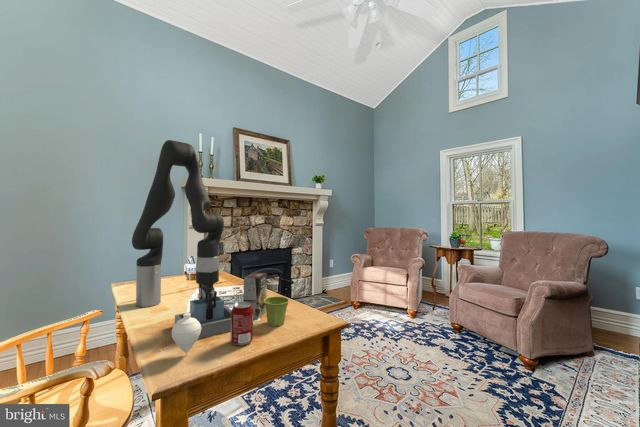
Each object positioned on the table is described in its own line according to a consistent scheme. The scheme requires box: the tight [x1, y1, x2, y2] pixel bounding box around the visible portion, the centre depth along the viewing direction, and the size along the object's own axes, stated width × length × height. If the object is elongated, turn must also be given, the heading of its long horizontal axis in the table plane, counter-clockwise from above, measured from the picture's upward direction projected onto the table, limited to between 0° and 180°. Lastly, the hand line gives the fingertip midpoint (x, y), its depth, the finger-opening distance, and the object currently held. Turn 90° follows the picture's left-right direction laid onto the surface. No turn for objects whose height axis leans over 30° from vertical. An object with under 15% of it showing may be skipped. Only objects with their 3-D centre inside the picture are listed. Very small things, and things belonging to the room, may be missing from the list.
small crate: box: [189, 295, 225, 324], centre depth 99 cm, size 6×10×7 cm, turn 127°
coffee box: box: [242, 272, 268, 321], centre depth 111 cm, size 9×6×16 cm
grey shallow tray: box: [174, 305, 232, 340], centre depth 98 cm, size 15×18×4 cm
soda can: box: [230, 301, 254, 347], centre depth 88 cm, size 7×7×12 cm
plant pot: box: [264, 295, 290, 327], centre depth 103 cm, size 9×9×9 cm
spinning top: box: [171, 312, 201, 357], centre depth 79 cm, size 8×8×12 cm
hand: (206, 316), depth 98 cm, fingers closed on small crate, 6 cm apart
